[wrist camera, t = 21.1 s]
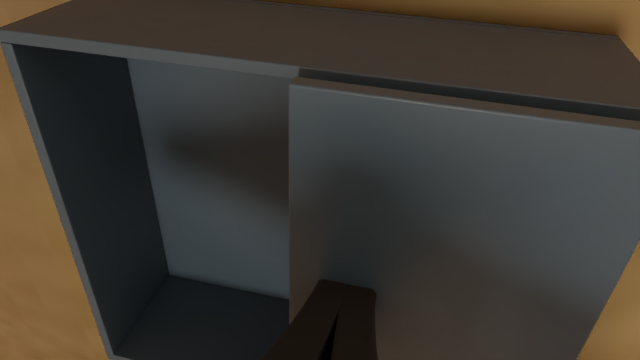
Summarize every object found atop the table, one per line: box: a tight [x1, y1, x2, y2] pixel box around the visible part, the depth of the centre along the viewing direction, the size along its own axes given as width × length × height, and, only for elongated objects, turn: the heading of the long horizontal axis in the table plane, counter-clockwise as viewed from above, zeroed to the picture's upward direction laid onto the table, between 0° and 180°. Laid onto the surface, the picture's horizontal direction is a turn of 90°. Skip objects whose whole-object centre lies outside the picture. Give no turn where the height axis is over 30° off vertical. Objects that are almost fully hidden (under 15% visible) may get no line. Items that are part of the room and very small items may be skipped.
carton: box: [0, 0, 640, 360], centre depth 14 cm, size 14×12×4 cm
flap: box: [288, 77, 640, 360], centre depth 12 cm, size 7×12×1 cm, turn 178°
